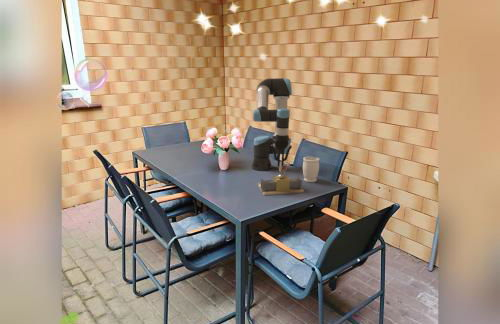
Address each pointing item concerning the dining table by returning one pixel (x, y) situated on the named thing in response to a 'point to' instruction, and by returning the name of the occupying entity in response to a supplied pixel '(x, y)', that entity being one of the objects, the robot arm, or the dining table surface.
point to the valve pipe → (281, 184)
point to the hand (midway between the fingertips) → (280, 170)
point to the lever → (282, 172)
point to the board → (280, 191)
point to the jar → (310, 168)
